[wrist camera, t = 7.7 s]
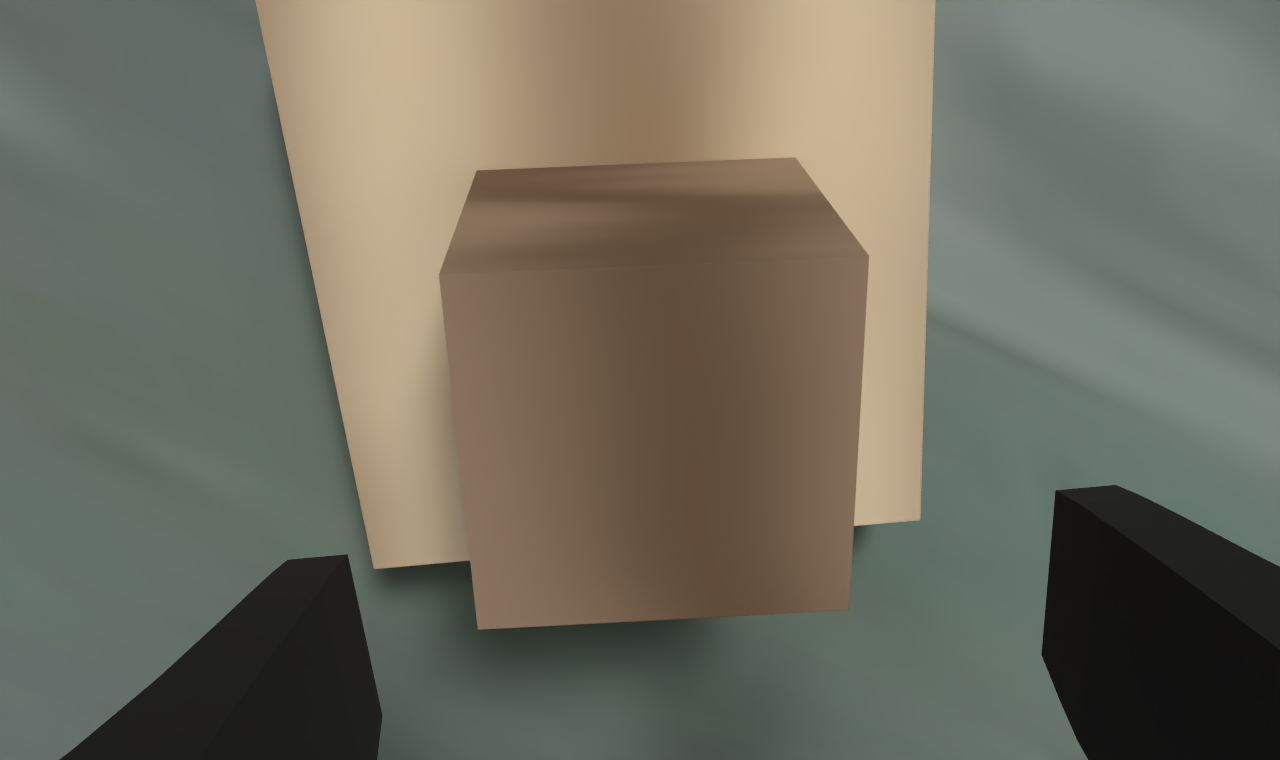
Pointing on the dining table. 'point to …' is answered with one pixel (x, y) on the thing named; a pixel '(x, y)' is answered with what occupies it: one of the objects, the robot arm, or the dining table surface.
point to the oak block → (583, 136)
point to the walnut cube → (655, 391)
